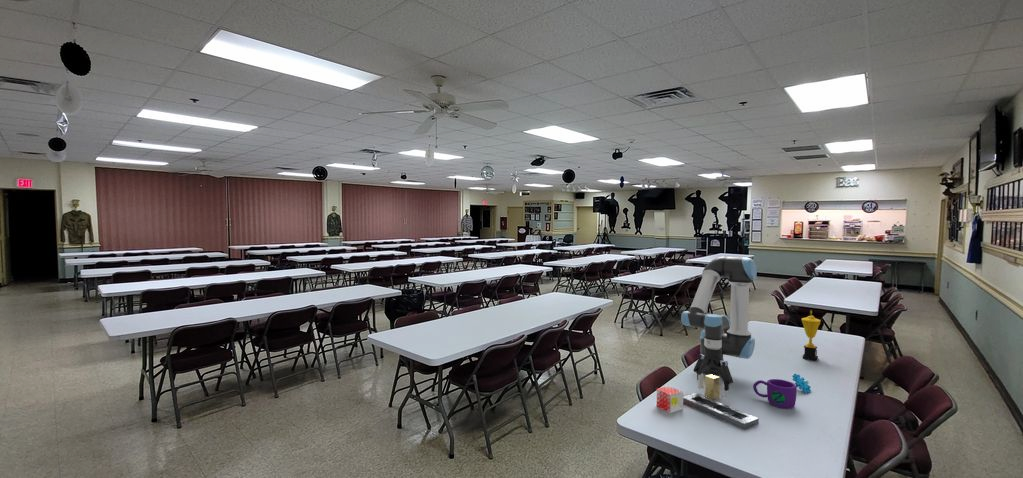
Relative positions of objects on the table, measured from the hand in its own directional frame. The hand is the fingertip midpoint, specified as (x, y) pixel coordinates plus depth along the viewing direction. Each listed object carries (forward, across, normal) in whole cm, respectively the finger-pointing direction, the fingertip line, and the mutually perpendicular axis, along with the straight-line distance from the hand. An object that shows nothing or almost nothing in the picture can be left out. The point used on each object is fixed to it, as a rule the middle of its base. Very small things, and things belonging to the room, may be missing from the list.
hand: (712, 392), depth 201 cm
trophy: (+3, -8, +105) cm, 105 cm away
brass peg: (+2, 0, 0) cm, 2 cm away
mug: (+3, +18, +19) cm, 26 cm away
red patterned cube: (+3, -2, -27) cm, 27 cm away
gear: (+3, +17, +46) cm, 49 cm away
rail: (+2, +12, -13) cm, 18 cm away
